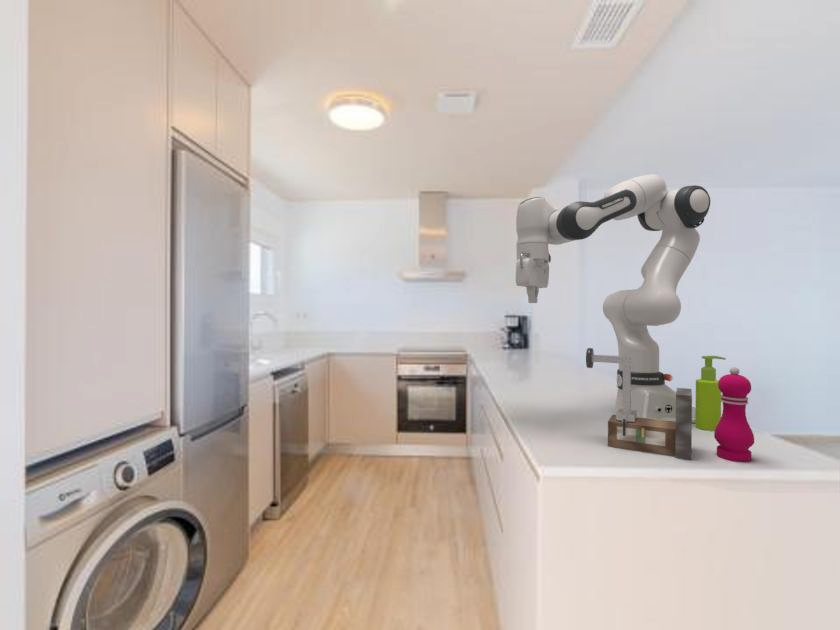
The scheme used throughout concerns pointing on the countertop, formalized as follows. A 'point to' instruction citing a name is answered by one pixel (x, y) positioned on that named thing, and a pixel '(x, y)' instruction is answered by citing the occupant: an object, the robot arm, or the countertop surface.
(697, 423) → the soap dispenser
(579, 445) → the countertop surface
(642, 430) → the peak needle
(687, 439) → the stand
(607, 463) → the countertop surface
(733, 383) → the pepper mill
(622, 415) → the plunger
